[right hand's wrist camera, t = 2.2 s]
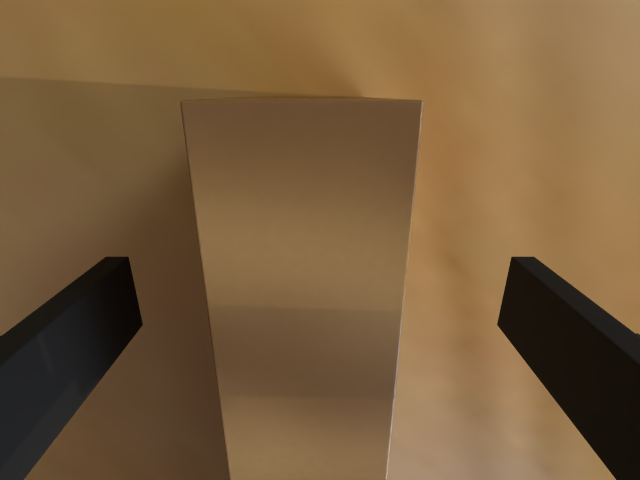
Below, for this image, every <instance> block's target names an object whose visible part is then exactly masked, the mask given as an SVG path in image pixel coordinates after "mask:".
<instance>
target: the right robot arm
mask: <svg viewBox="0 0 640 480" xmlns="http://www.w3.org/2000/svg"><path fill="white" fill-rule="evenodd" d="M142 325H143V323H142V319H141V314H140V309H139V305H138V300H137V295H136V290H135V286H134V281H133V276H132V272H131V267H130V262H129V257H105V258H104V259H103V260H101V261H100V262H99V263H97V264H96V265H95V266H93V267H92V268H91V269H89V270H88V271H87V272H85V273H84V274H83V275H81V276H80V277H79V278H77V279H76V280H75V281H74V282H72V283H71V284H70V285H68V286H67V287H66V288H64V289H63V290H62V291H60V292H59V293H58V294H56V295H55V296H54V297H52V298H51V299H50V300H48V301H47V302H46V303H45V304H43V305H42V306H41V307H39V308H38V309H37V310H35V311H34V312H33V313H31V314H30V315H29V316H27V317H26V318H25V319H23V320H22V321H21V322H19V323H18V324H17V325H16V326H14V327H13V328H12V329H10V330H9V331H8V332H6V333H5V334H4V335H2V336H0V480H24V478H25V477H26V476H27V475H28V473H29V472H30V471H31V469H32V468H33V467H34V465H35V464H36V463H37V462H38V460H39V459H40V458H41V456H42V455H43V454H44V452H45V451H46V450H47V449H48V447H49V446H50V445H51V443H52V442H53V441H54V439H55V438H56V437H57V436H58V434H59V433H60V432H61V430H62V429H63V428H64V426H65V425H66V424H67V423H68V421H69V420H70V419H71V417H72V416H73V415H74V413H75V412H76V411H77V410H78V408H79V407H80V406H81V404H82V403H83V402H84V400H85V399H86V398H87V397H88V395H89V394H90V393H91V391H92V390H93V389H94V388H95V386H96V385H97V384H98V382H99V381H100V380H101V378H102V377H103V376H104V375H105V373H106V372H107V371H108V369H109V368H110V367H111V365H112V364H113V363H114V362H115V360H116V359H117V358H118V356H119V355H120V354H121V352H122V351H123V350H124V349H125V347H126V346H127V345H128V343H129V342H130V341H131V339H132V338H133V337H134V336H135V334H136V333H137V332H138V330H139V329H140V328H141V326H142ZM497 325H498V326H499V328H500V329H501V330H502V332H503V333H504V334H505V336H506V337H507V338H508V339H509V341H510V342H511V343H512V345H513V346H514V347H515V349H516V350H517V351H518V352H519V354H520V355H521V356H522V358H523V359H524V360H525V362H526V363H527V364H528V365H529V367H530V368H531V369H532V371H533V372H534V373H535V375H536V376H537V377H538V378H539V380H540V381H541V382H542V384H543V385H544V386H545V388H546V389H547V390H548V391H549V393H550V394H551V395H552V397H553V398H554V399H555V400H556V402H557V403H558V404H559V406H560V407H561V408H562V410H563V411H564V412H565V413H566V415H567V416H568V417H569V419H570V420H571V421H572V423H573V424H574V425H575V426H576V428H577V429H578V430H579V432H580V433H581V434H582V436H583V437H584V438H585V439H586V441H587V442H588V443H589V445H590V446H591V447H592V449H593V450H594V451H595V452H596V454H597V455H598V456H599V458H600V459H601V460H602V462H603V463H604V464H605V465H606V467H607V468H608V469H609V471H610V472H611V473H612V475H613V476H614V477H615V478H616V480H640V335H639V334H635V333H634V332H632V331H631V330H630V329H628V328H627V327H626V326H624V325H623V324H622V323H621V322H619V321H618V320H617V319H615V318H614V317H613V316H611V315H610V314H609V313H607V312H606V311H605V310H603V309H602V308H601V307H599V306H598V305H597V304H595V303H594V302H593V301H592V300H590V299H589V298H588V297H586V296H585V295H584V294H582V293H581V292H580V291H578V290H577V289H576V288H574V287H573V286H572V285H570V284H569V283H568V282H566V281H565V280H564V279H563V278H561V277H560V276H559V275H557V274H556V273H555V272H553V271H552V270H551V269H549V268H548V267H547V266H545V265H544V264H543V263H541V262H540V261H539V260H537V259H536V258H535V257H511V262H510V267H509V272H508V276H507V281H506V286H505V290H504V295H503V300H502V305H501V309H500V314H499V319H498V323H497Z"/></svg>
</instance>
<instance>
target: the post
mask: <svg viewBox="0 0 640 480" xmlns="http://www.w3.org/2000/svg"><path fill="white" fill-rule="evenodd" d="M180 104H181V112H182V120H183V127H184V135H185V142H186V150H187V158H188V165H189V173H190V180H191V188H192V195H193V203H194V211H195V218H196V226H197V233H198V241H199V249H200V256H201V264H202V271H203V279H204V287H205V294H206V302H207V309H208V317H209V325H210V332H211V340H212V347H213V355H214V362H215V370H216V378H217V385H218V393H219V400H220V408H221V416H222V423H223V431H224V438H225V446H226V454H227V461H228V469H229V476H230V480H387V472H388V462H389V451H390V441H391V431H392V421H393V410H394V400H395V390H396V380H397V369H398V359H399V349H400V339H401V328H402V318H403V308H404V298H405V287H406V277H407V267H408V257H409V246H410V236H411V226H412V216H413V206H414V195H415V185H416V175H417V165H418V154H419V144H420V134H421V124H422V113H423V101H421V100H406V99H386V98H366V97H251V98H227V99H202V100H182V101H181V103H180Z"/></svg>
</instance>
